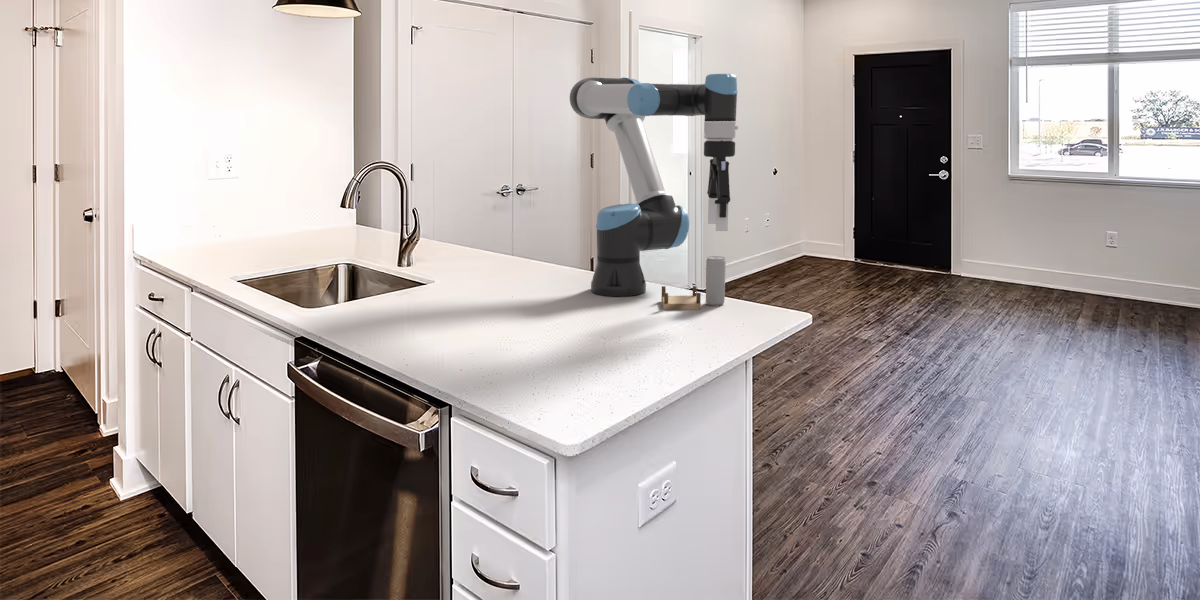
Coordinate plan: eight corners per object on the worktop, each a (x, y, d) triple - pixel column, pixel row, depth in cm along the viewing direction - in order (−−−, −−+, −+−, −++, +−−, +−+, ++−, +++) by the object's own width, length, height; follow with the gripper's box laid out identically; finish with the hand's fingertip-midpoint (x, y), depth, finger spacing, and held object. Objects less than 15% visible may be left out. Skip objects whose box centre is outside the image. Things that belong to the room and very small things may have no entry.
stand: (664, 309, 189) (664, 293, 188) (661, 301, 198) (661, 286, 197) (700, 309, 189) (700, 293, 188) (696, 301, 198) (696, 286, 197)
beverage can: (709, 306, 192) (711, 259, 189) (702, 302, 196) (703, 256, 194) (727, 305, 193) (729, 258, 190) (719, 301, 198) (720, 255, 195)
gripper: (744, 141, 173) (741, 234, 178) (726, 138, 197) (724, 220, 202) (711, 141, 173) (709, 234, 178) (697, 139, 197) (696, 221, 202)
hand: (717, 227), depth 190 cm, fingers open, 13 cm apart
